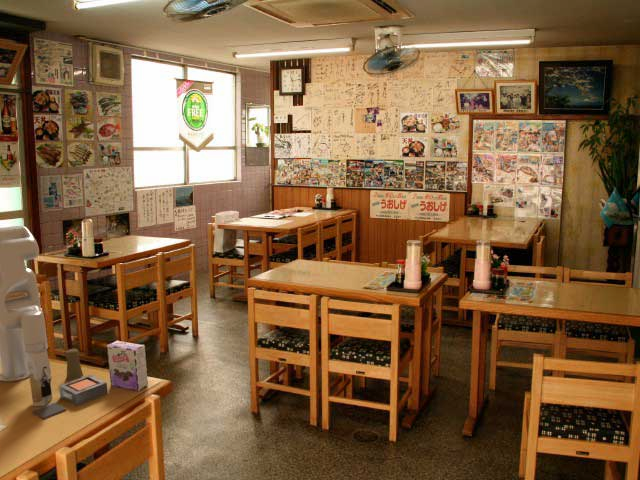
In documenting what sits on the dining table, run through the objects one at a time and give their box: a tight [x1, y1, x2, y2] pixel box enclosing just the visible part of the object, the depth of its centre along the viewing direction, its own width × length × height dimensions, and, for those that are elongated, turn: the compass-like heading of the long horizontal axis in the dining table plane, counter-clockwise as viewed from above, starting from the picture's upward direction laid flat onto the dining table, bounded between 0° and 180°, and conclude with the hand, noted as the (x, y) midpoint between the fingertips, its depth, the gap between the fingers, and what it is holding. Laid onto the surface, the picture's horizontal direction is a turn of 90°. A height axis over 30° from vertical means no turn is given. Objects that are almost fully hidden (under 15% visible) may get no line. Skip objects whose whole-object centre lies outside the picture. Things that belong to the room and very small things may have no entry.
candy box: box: [106, 340, 149, 392], centre depth 227 cm, size 14×6×16 cm, turn 65°
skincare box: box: [28, 373, 53, 407], centre depth 215 cm, size 6×4×12 cm
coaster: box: [32, 402, 67, 420], centre depth 209 cm, size 8×8×1 cm
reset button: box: [69, 379, 97, 392], centre depth 220 cm, size 7×7×2 cm
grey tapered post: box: [64, 348, 84, 380], centre depth 238 cm, size 6×6×11 cm
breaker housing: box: [58, 374, 109, 407], centre depth 220 cm, size 12×12×4 cm
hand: (41, 392), depth 215 cm, fingers closed on skincare box, 7 cm apart
